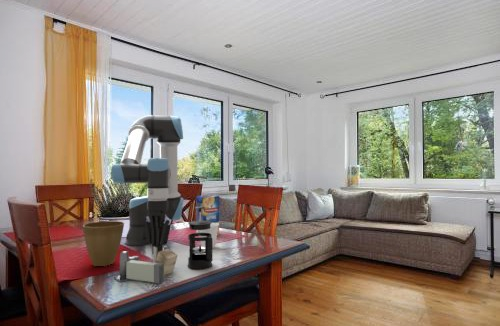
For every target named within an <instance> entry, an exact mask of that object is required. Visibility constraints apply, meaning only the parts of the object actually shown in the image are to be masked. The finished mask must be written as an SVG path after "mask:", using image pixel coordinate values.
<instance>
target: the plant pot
mask: <svg viewBox="0 0 500 326" xmlns="http://www.w3.org/2000/svg"><path fill="white" fill-rule="evenodd" d="M124 226H125V222H123V221H117V220H115V221H114V220H112V221H111V220H110V221H109V220H108V221H107V220H105V221H94V222H88V223H85V224H83V225H82V231H83V237H84V242H85V246H86V250H87V253H88V256H89V259H90V262H91V263H92V266H93V265H94V266H93V267H95V266H104V267H108V266H107V265H109V266H111V265H110V264H112V265H113V264H114V263H115V260H116V257H117V255H118V252H119V249H120V247H121V246H120V245H121V243H122V238H123V233H124Z"/></svg>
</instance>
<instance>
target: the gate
mask: <svg viewBox="0 0 500 326" xmlns="http://www.w3.org/2000/svg"><path fill="white" fill-rule="evenodd" d="M126 278H127V279H131V280H136V281H141V282H150V283H153V284H161V283H162V282H164V281H165V275H164V263H153V261H142V260H139V261H136V260H130V261H128V262H126Z"/></svg>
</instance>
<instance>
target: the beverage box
mask: <svg viewBox="0 0 500 326" xmlns="http://www.w3.org/2000/svg"><path fill="white" fill-rule="evenodd" d="M195 199H196V200H195V202H196V207H205V208H203V209H201V221H210V222H212V223H218V224H219V225H218V232H217V236H219V235H220V196H219V195H213V194H210V195H197V196H196V198H195ZM195 209H196V208H195ZM195 211H196V216H195V218H196V220H195V221H200V212H199V209H196V210H195ZM195 231H196V232H195V233H200V230H195Z"/></svg>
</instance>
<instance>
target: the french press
mask: <svg viewBox="0 0 500 326" xmlns="http://www.w3.org/2000/svg"><path fill="white" fill-rule="evenodd" d="M203 208H205V207H194V209H199V212H200V221H196V220H193V221H189V222H188V225H189V229H190V230H192V231H196V230H200V233H196V232H194V233H190V234H188V241H189V246H188V247H189V252H188V254H189V256H188V257H187V260H188V262H187V263H188V264H187V268H188V269H190V270H194V271H198V270H199V271H200V270H201V271H202V270H207V269H210V268H212V266H213V263H212V262H213V248H212V234H210V233H201V230H206V229H210V224H211V223H212V222H210V221H201V209H203ZM199 236H200V237H199ZM201 236H207V237H201ZM201 241H205V247H202V242H201ZM196 242H199V246H196Z"/></svg>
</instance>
